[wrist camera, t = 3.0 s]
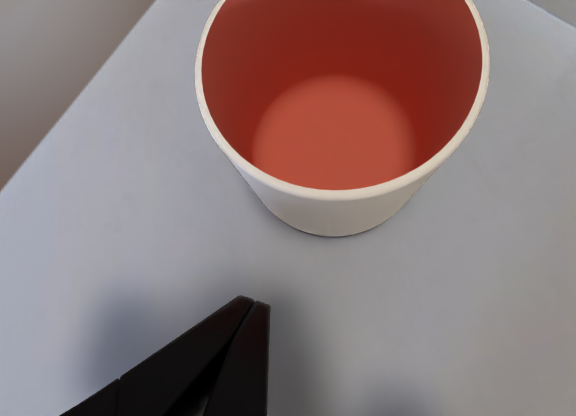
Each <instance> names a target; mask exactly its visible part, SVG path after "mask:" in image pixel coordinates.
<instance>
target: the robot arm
mask: <svg viewBox="0 0 576 416" xmlns="http://www.w3.org/2000/svg"><path fill="white" fill-rule="evenodd" d="M269 340H270V305H268V304H266V303H263V302H260V301H254V300H253V299H251V298H248V297H245V296H242V295H240V296H237V297H236V298H235V299H233V300H232V301H230V302H229V303H227V304H226V305H224V306H223V307H221V308H220V309H218V310H217V311H216V312H214V313H213V314H211V315H210V316H208V317H207V318H205V319H204V320H202V321H201V322H199V323H198V324H197V325H195V326H194V327H192V328H191V329H189V330H188V331H186V332H185V333H183V334H182V335H180V336H179V337H177V338H176V339H175V340H173V341H172V342H170V343H169V344H167V345H166V346H164V347H163V348H161V349H160V350H158V351H157V352H156V353H154V354H153V355H151V356H150V357H148V358H147V359H145V360H144V361H142V362H141V363H139V364H138V365H137V366H135V367H134V368H132V369H131V370H129V371H128V372H126V373H125V374H123V375H122V376H121V377H120V379H116V380H114V381H113V382H111V383H110V384H108V385H107V386H106V387H104V388H103V389H101V390H100V391H98V392H97V393H95V394H93V395H92V396H90V397H89V398H87V399H86V400H84V401H83V402H81V403H80V404H78V405H77V406H75V407H73V408H71V409H70V410H68V411H66V412H65V413H63V414H61V415H60V416H267V401H268V370H269Z"/></svg>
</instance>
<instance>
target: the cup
mask: <svg viewBox="0 0 576 416" xmlns="http://www.w3.org/2000/svg"><path fill="white" fill-rule="evenodd" d="M489 71H490V53H489V45H488V39H487V35H486V31H485V28H484V25H483V22H482V20H481V17H480V15H479V13H478V11H477V9H476V7H475V5H474V3H473V2H472V0H220V1H219V2H218V3H217V5H216V6H215V8H214V10H213V11H212V13H211V15H210V17H209V19H208V20H207V22H206V25H205V27H204V29H203V32H202V35H201V38H200V41H199V46H198V51H197V56H196V61H195V88H196V94H197V100H198V104H199V108H200V111H201V114H202V117H203V119H204V122H205V124H206V126H207V128H208V130H209V132H210V134H211V135H212V137H213V138H214V140H215V141H216V143H217V144H218V146H219V147H220V148H221V150H222V151H223V152H224V153H225V155H226V156H227V157H228V158H229V160H230V161H231V162H232V164H233V165H234V166H235V167H236V169H237V170H238V171H239V173H240V174H241V175H242V176H243V178H244V179H245V180H246V182H247V183H248V184H249V185H250V187H251V188H252V189H253V190H254V192H255V193H256V194H257V196H258V197H259V198H260V199H261V201H262V202H263V203H264V204H265V206H266V207H267V208H268V209H269V210H270V211H271V212H272V213H273V214H274V215H276V216H277V217H278V218H279V219H281V220H282V221H284V222H285V223H287V224H289V225H290V226H292V227H294V228H297V229H299V230H301V231H304V232H308V233H311V234H316V235H321V236H346V235H352V234H357V233H360V232H364V231H367V230H369V229H372V228H374V227H376V226H378V225H380V224H381V223H383V222H385V221H386V220H388V219H389V218H390V217H392V216H393V215H394V214H395V213H396V212H398V210H399V209H400V208H401V207H402V206H403V205H404V204H405V203H406V202H407V201H408V200H409V199H410V198H411V197H412V196H413V195H414V193H415V192H416V191H417V190H418V189H419V188H420V187H421V186H422V185H423V184H424V183H425V182H426V181H427V180H428V178H429V177H430V176H431V175H432V174H433V173H434V172H435V171H436V170H437V169H438V168H439V167H440V166H441V165H442V164H443V162H444V161H445V160H446V159H447V158H448V157H449V156H450V155H451V154H452V153H453V152H454V151H455V150H456V149H457V147H458V146H459V145H460V144H461V142H462V141H463V140H464V139H465V137H466V136H467V135H468V133H469V131H470V130H471V128H472V126H473V125H474V123H475V121H476V119H477V117H478V115H479V113H480V111H481V108H482V105H483V103H484V100H485V96H486V92H487V88H488V82H489Z"/></svg>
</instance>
